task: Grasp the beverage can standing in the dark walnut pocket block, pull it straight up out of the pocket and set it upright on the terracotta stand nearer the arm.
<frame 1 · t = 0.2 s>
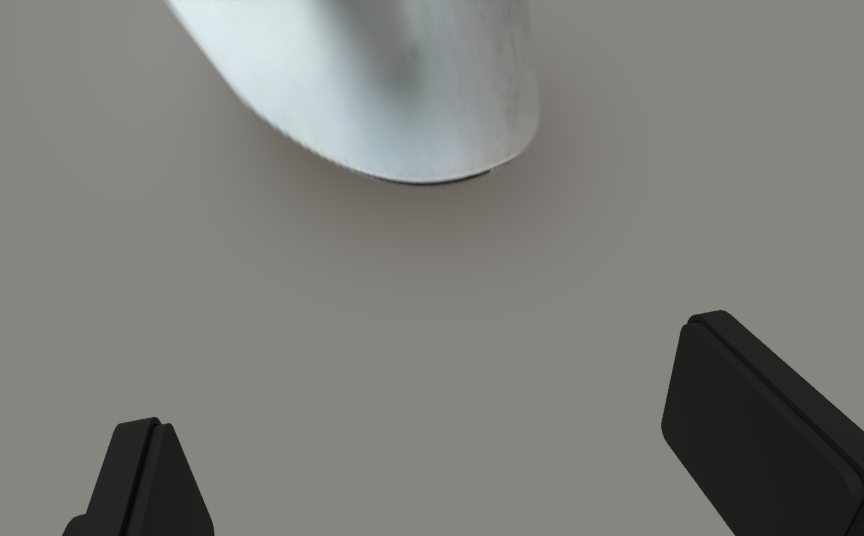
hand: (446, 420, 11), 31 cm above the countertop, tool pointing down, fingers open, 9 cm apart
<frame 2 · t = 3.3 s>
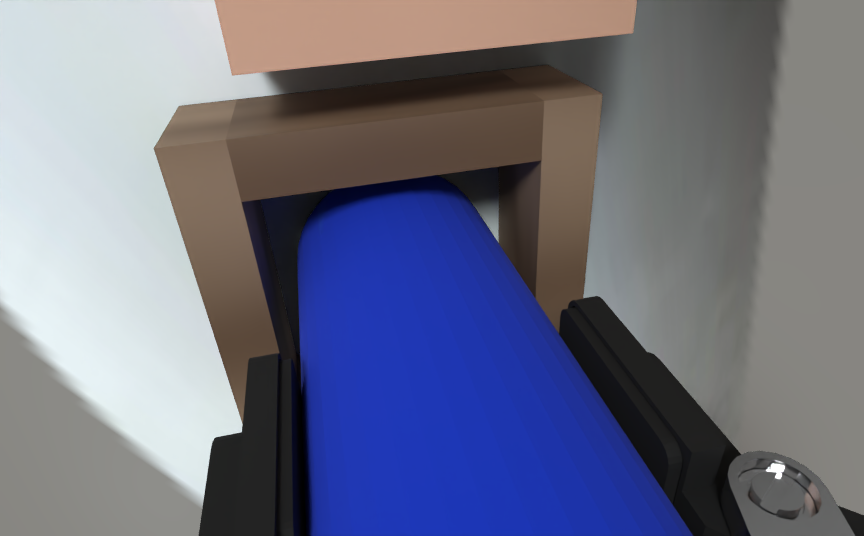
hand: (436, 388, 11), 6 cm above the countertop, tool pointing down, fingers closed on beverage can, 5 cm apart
beverage can: (389, 242, 16), resting in pocket block, touching gripper
pocket block: (390, 246, 16), on the countertop
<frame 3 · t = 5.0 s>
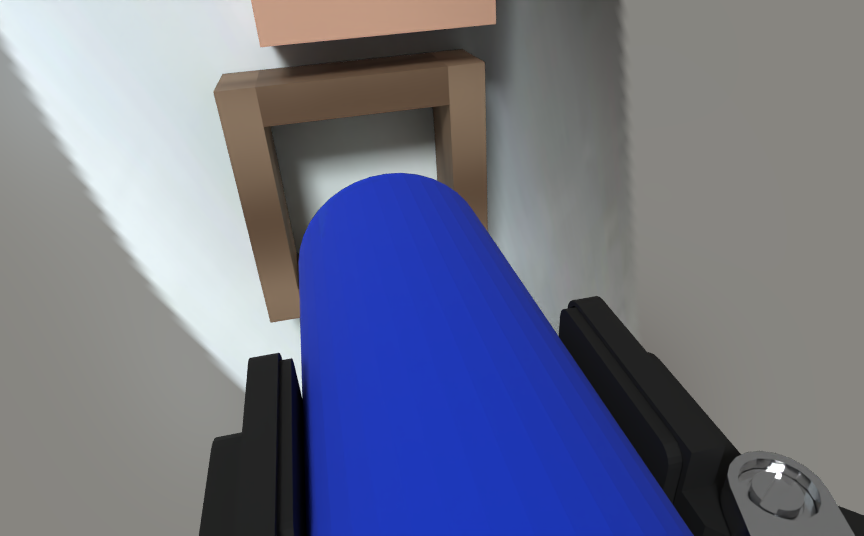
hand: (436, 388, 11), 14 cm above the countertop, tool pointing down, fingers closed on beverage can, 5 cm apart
beverage can: (390, 248, 17), point 8 cm above the countertop, touching gripper
pocket block: (361, 174, 24), on the countertop
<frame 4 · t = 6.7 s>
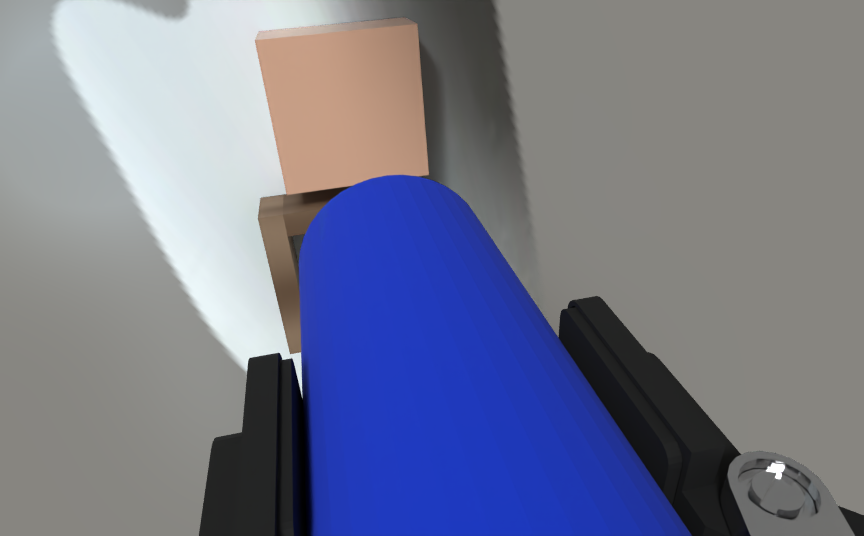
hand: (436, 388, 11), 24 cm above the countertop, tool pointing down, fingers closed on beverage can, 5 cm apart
beverage can: (390, 249, 17), point 18 cm above the countertop, touching gripper
stand: (343, 98, 31), on the countertop
pocket block: (349, 254, 36), on the countertop
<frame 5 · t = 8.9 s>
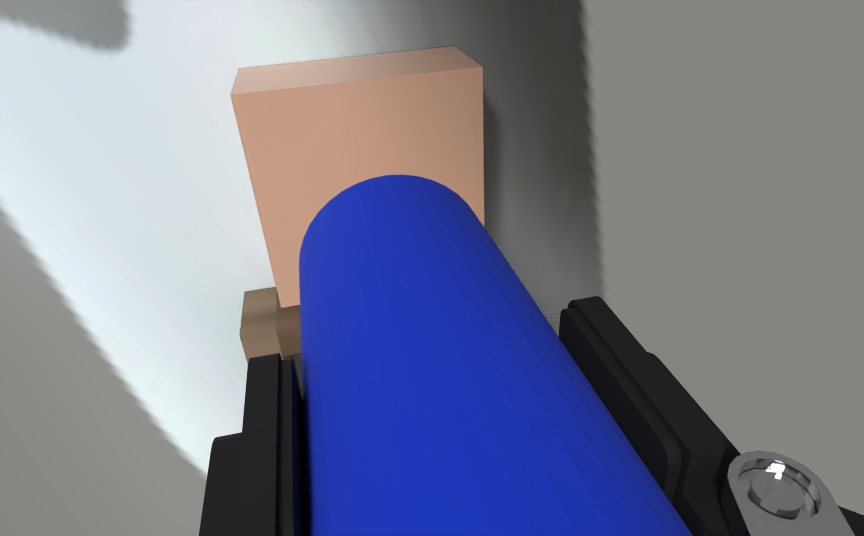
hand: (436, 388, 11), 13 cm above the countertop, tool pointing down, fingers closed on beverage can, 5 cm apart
beverage can: (390, 249, 17), point 7 cm above the countertop, touching gripper
stand: (362, 159, 22), on the countertop
pocket block: (365, 356, 27), on the countertop
when the fingers open (11 cm above the countertop, at t = 10.2 s): beverage can drops 1 cm, resting on stand.
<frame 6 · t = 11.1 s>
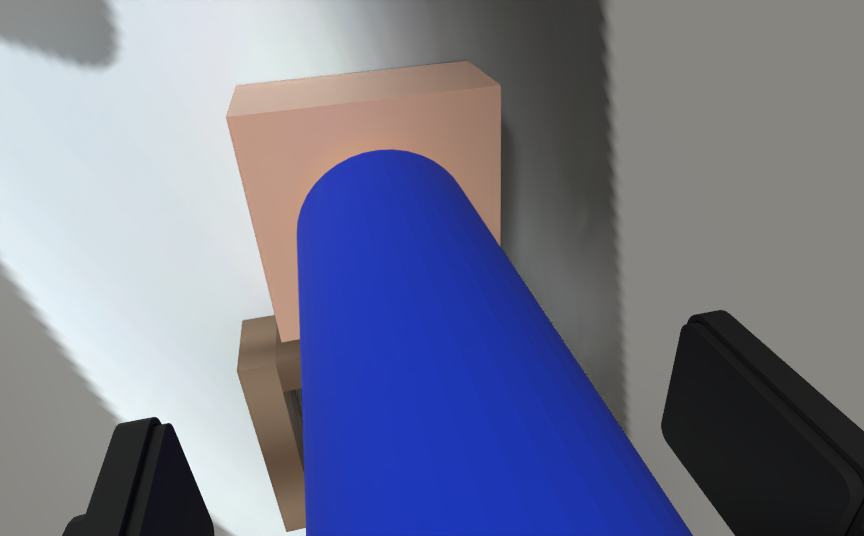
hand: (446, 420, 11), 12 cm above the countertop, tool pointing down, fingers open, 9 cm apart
beverage can: (382, 221, 18), point 3 cm above the countertop, touching stand
stand: (368, 181, 20), on the countertop
pocket block: (371, 385, 25), on the countertop
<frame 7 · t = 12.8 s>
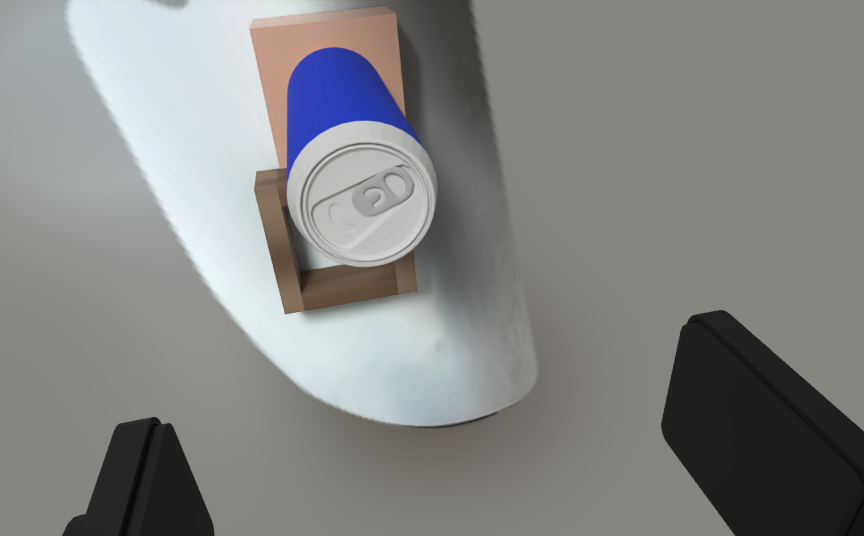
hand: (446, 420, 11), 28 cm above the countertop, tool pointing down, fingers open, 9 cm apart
beverage can: (335, 93, 32), point 3 cm above the countertop, touching stand
stand: (331, 80, 34), on the countertop
pocket block: (338, 224, 39), on the countertop
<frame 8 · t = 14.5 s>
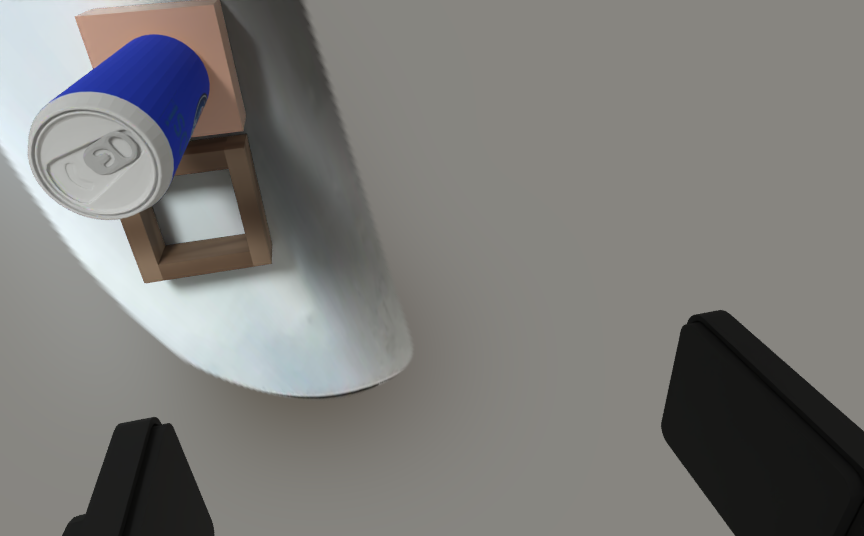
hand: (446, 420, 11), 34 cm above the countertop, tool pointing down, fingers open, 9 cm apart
beverage can: (165, 77, 35), point 3 cm above the countertop, touching stand
stand: (174, 66, 38), on the countertop
pocket block: (197, 200, 42), on the countertop
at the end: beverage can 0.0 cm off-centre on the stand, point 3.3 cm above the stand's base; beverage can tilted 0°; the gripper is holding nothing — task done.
